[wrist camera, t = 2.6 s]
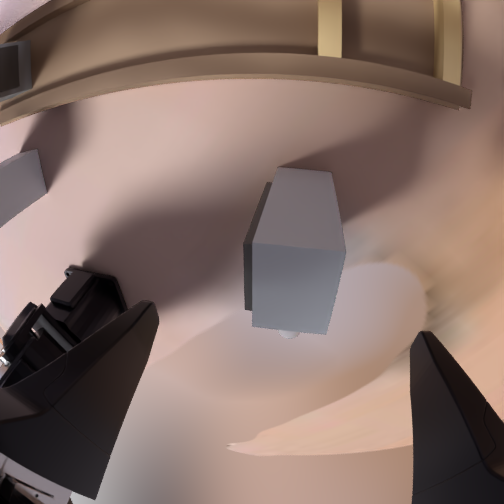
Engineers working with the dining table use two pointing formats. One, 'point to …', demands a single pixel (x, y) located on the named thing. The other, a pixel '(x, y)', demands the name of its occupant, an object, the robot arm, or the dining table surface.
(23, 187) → the box with small knob
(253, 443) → the dining table surface
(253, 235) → the grey boxy piece
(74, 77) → the rail
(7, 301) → the dining table surface
